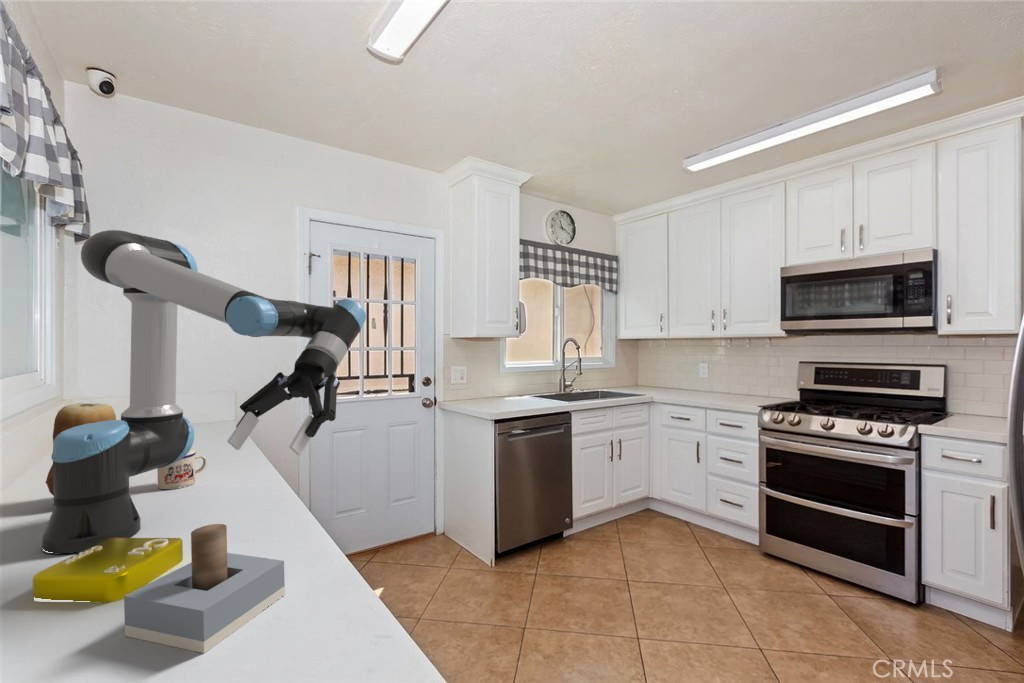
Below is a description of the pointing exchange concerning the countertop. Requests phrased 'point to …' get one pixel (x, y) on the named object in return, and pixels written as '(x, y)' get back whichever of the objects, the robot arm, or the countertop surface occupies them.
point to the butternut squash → (78, 423)
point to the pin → (209, 556)
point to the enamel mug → (180, 472)
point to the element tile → (108, 569)
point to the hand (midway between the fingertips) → (262, 448)
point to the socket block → (203, 604)
